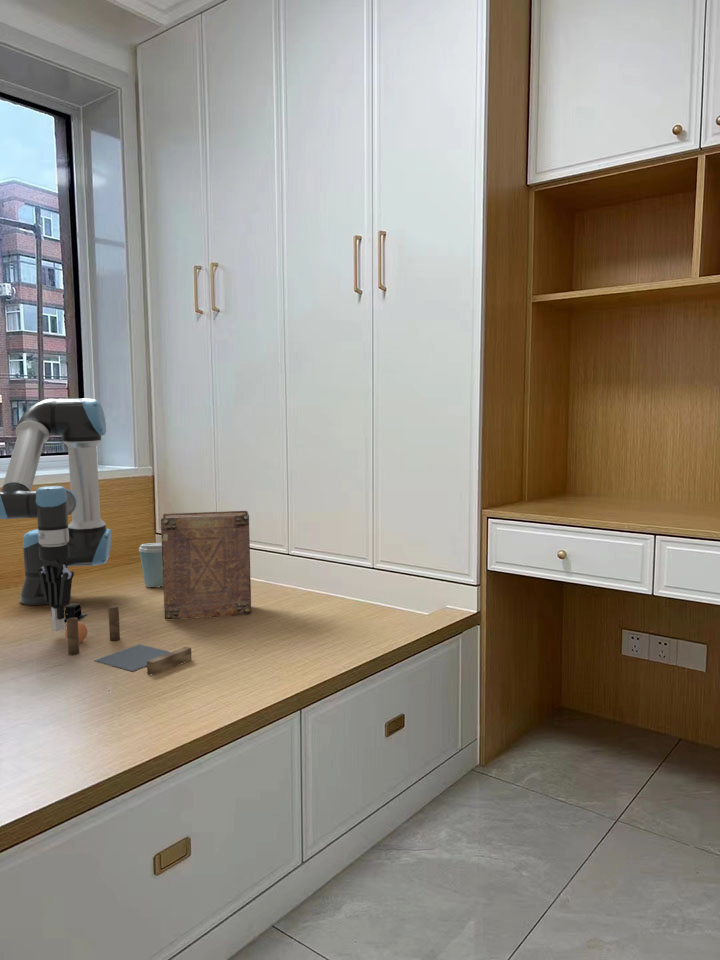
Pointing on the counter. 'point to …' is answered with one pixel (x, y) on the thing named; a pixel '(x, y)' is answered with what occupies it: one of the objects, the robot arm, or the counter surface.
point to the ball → (80, 632)
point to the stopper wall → (168, 660)
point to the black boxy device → (73, 612)
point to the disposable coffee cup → (152, 564)
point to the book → (206, 564)
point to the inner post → (114, 623)
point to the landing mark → (132, 657)
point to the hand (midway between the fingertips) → (58, 630)
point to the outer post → (72, 636)
